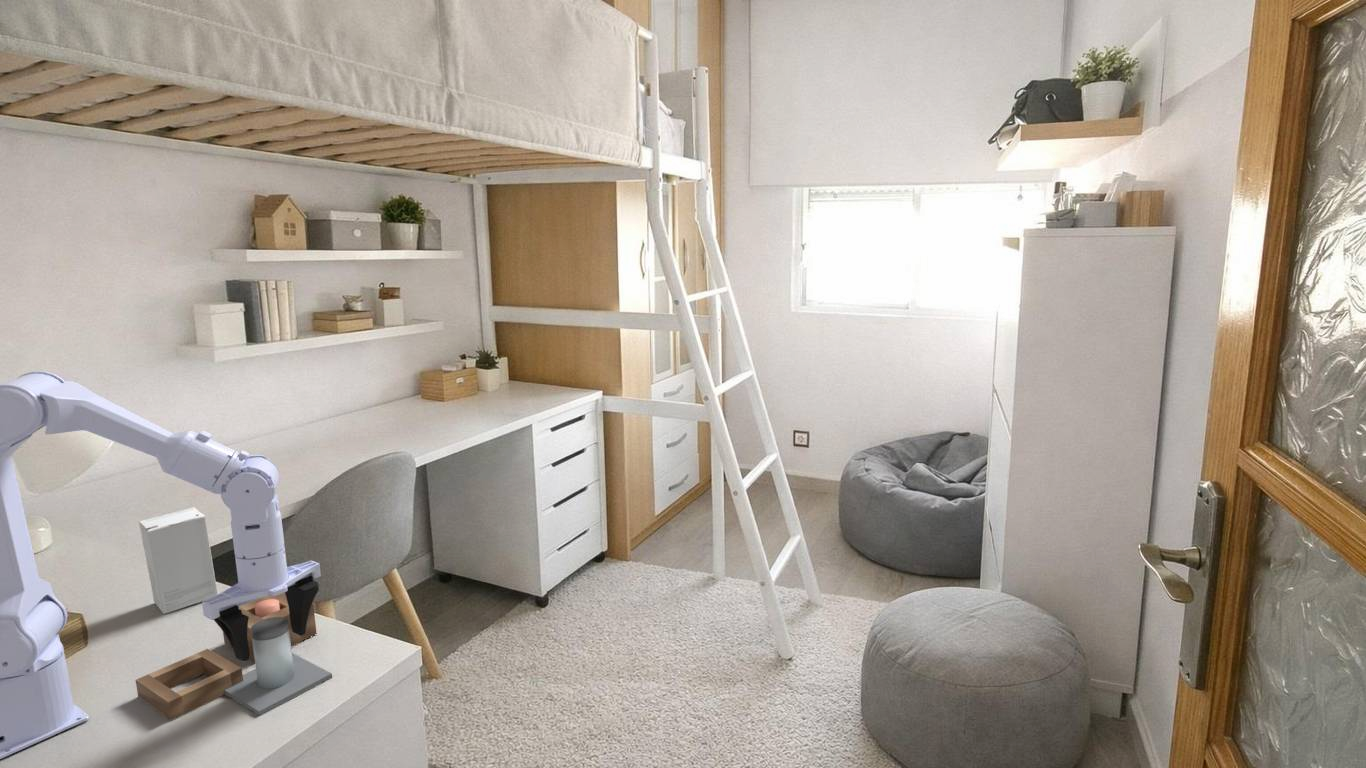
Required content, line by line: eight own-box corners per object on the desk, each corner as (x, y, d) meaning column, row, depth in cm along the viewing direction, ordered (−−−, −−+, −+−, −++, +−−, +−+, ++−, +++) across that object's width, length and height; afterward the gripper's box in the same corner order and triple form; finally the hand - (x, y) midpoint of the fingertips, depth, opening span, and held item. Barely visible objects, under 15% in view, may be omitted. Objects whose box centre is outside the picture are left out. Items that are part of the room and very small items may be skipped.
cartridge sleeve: (171, 720, 96) (168, 702, 96) (138, 696, 101) (135, 679, 101) (243, 684, 104) (241, 668, 103) (210, 664, 108) (207, 648, 108)
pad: (259, 715, 97) (258, 711, 97) (218, 690, 102) (218, 686, 102) (332, 677, 105) (331, 673, 105) (291, 655, 111) (290, 652, 110)
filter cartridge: (270, 692, 101) (263, 636, 99) (250, 682, 103) (243, 628, 101) (301, 675, 105) (295, 621, 103) (281, 666, 107) (275, 613, 105)
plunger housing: (257, 662, 109) (253, 629, 108) (224, 644, 114) (220, 613, 113) (316, 634, 116) (313, 604, 115) (283, 618, 121) (280, 589, 120)
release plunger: (265, 642, 113) (262, 611, 112) (254, 636, 115) (250, 605, 114) (286, 633, 115) (283, 602, 114) (275, 627, 117) (271, 597, 116)
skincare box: (208, 587, 132) (196, 505, 129) (219, 598, 128) (208, 514, 125) (150, 604, 126) (137, 519, 123) (160, 616, 122) (147, 528, 119)
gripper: (217, 578, 92) (231, 681, 95) (329, 538, 104) (338, 630, 106) (188, 565, 96) (202, 663, 98) (299, 527, 108) (309, 616, 110)
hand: (271, 645), depth 103 cm, fingers open, 7 cm apart
